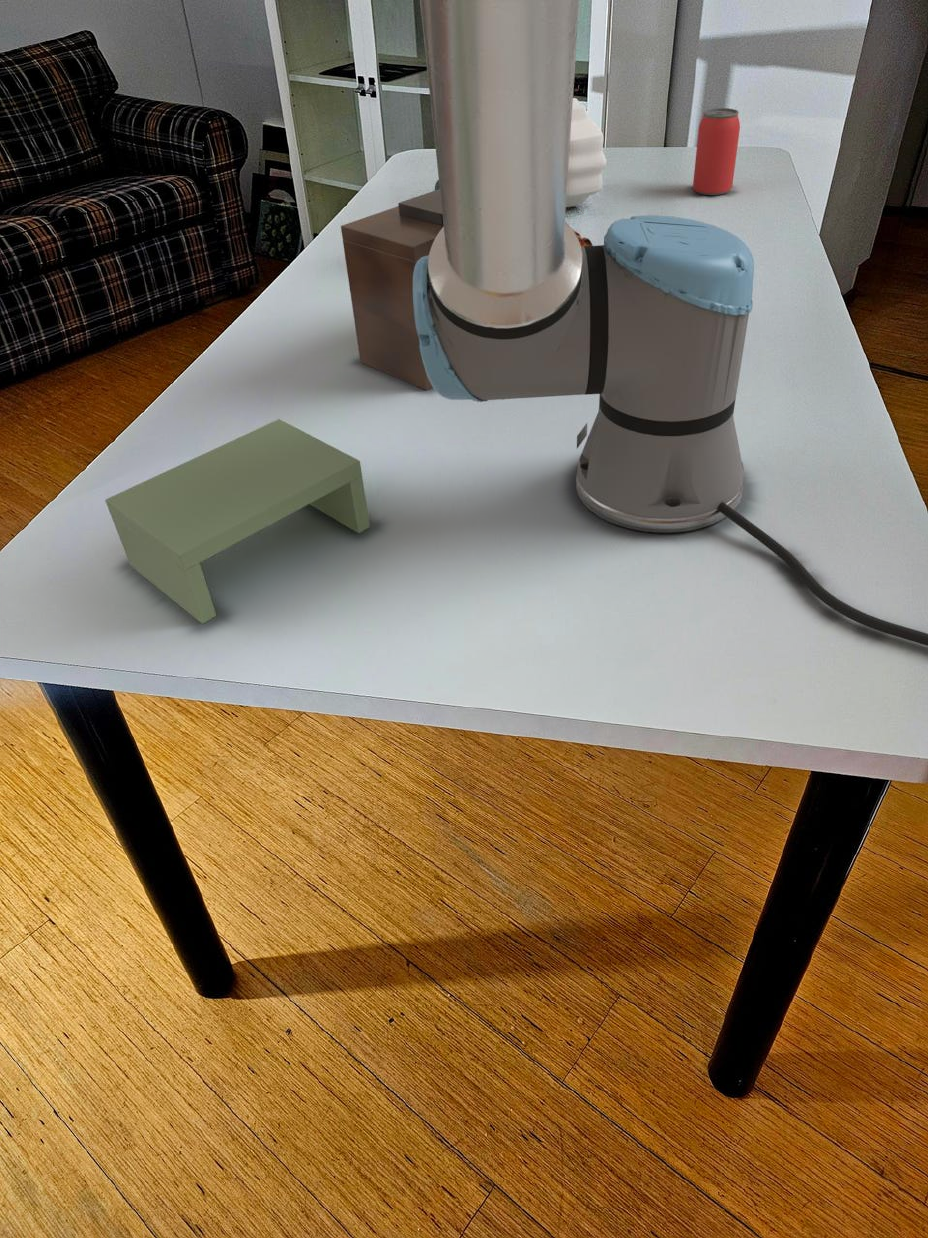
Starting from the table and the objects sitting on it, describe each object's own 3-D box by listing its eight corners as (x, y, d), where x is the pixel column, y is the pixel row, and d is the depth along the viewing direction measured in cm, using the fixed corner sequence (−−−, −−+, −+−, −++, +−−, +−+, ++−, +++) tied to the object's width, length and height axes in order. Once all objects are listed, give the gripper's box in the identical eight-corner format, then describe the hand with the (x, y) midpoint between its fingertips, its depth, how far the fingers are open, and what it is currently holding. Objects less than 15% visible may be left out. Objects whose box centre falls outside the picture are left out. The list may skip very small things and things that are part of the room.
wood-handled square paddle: (544, 222, 94) (544, 202, 93) (499, 240, 91) (498, 219, 90) (443, 198, 103) (442, 179, 102) (399, 214, 100) (397, 195, 98)
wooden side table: (542, 332, 112) (542, 197, 101) (426, 390, 101) (413, 246, 91) (474, 310, 118) (468, 181, 108) (360, 362, 108) (340, 225, 98)
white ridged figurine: (566, 185, 159) (567, 83, 149) (613, 212, 146) (618, 102, 136) (509, 196, 157) (507, 92, 146) (553, 223, 144) (553, 112, 133)
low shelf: (370, 527, 81) (360, 460, 77) (202, 624, 72) (179, 555, 68) (292, 482, 88) (278, 418, 84) (130, 565, 79) (104, 499, 74)
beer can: (685, 188, 154) (692, 110, 146) (719, 183, 155) (728, 105, 147) (704, 198, 149) (713, 118, 141) (739, 192, 150) (749, 112, 142)
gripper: (526, -8, 88) (529, 238, 103) (406, 16, 79) (428, 279, 95) (585, -6, 83) (579, 251, 99) (465, 20, 75) (478, 295, 91)
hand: (505, 264), depth 97 cm, fingers open, 3 cm apart
